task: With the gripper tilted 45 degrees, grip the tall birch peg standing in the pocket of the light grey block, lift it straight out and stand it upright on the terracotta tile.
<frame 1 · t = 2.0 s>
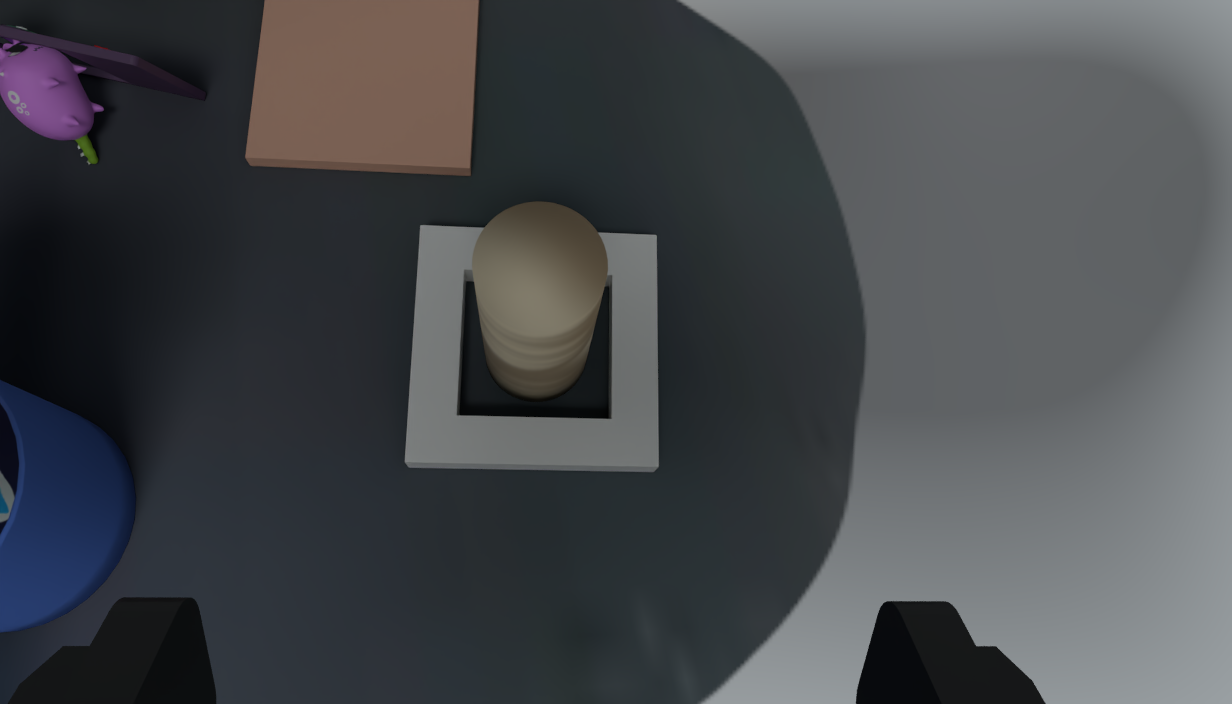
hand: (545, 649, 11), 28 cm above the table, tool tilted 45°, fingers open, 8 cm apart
water bottle: (20, 516, 37), on the table
purple toy figure: (97, 119, 43), on the table
pocket block: (536, 352, 41), on the table
birch peg: (538, 314, 36), in the pocket block
terracotta tile: (370, 75, 44), on the table
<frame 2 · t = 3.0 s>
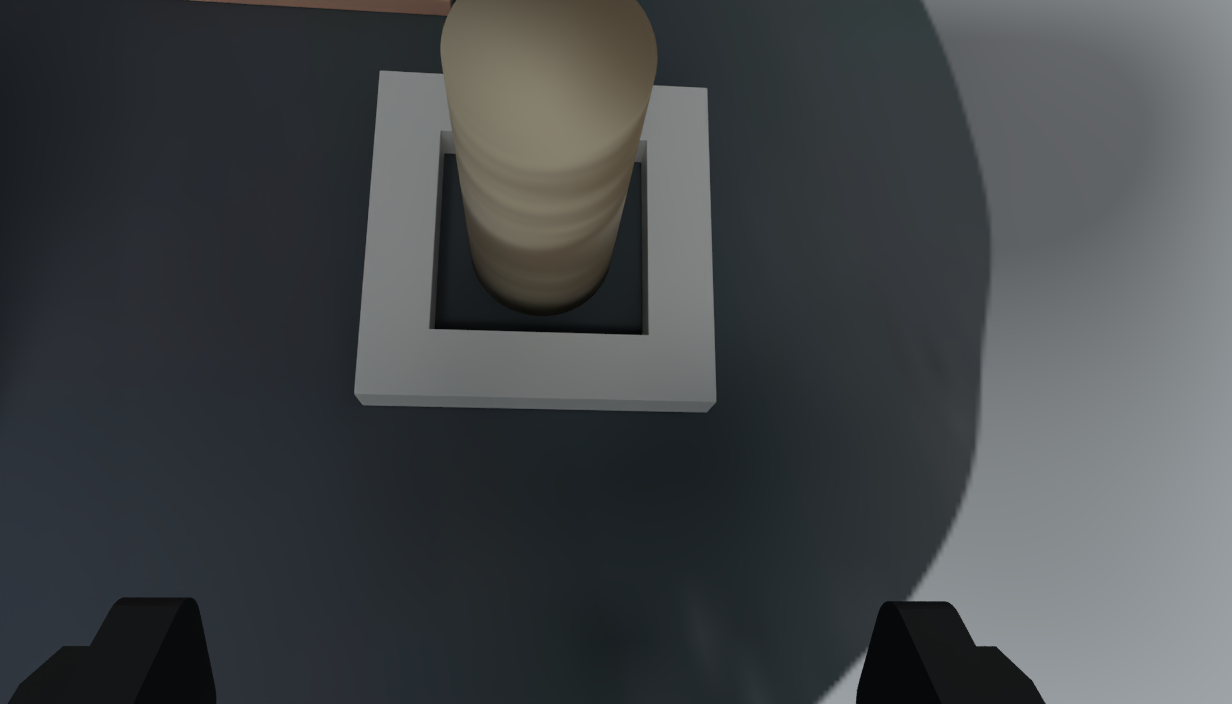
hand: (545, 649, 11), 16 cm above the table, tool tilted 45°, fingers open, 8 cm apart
pocket block: (541, 249, 30), on the table
birch peg: (544, 171, 24), in the pocket block
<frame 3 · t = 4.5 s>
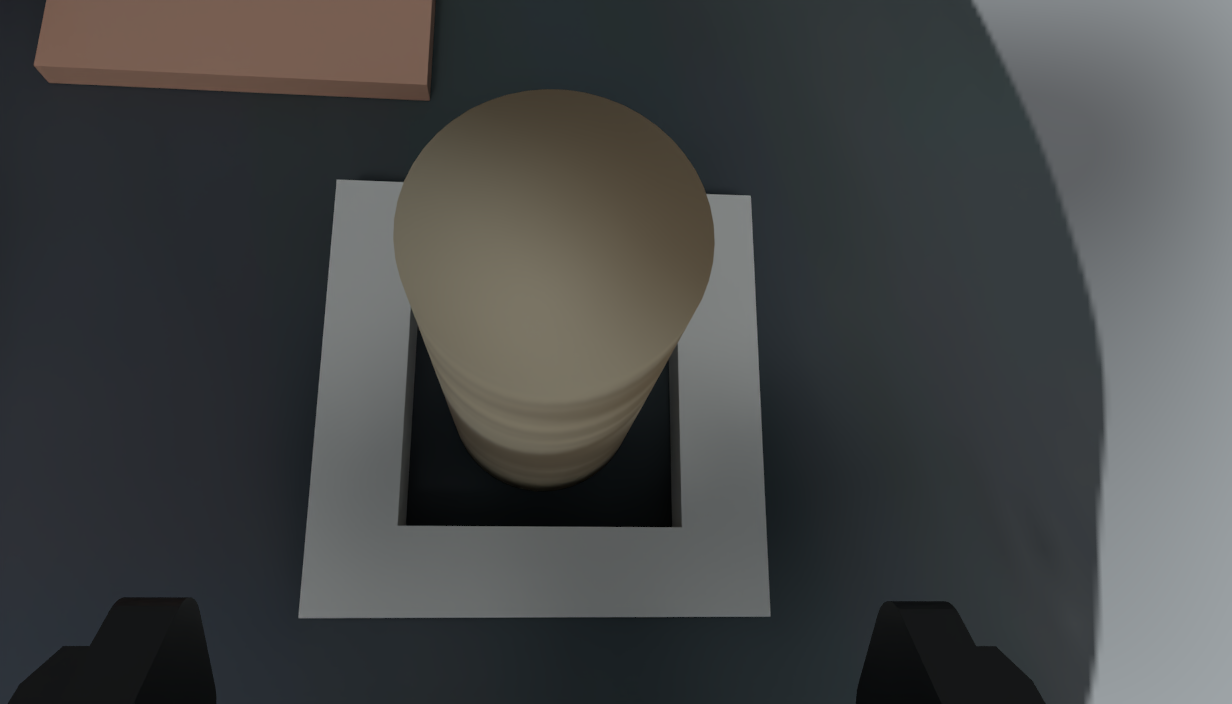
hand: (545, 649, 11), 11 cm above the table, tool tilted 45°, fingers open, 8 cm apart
pocket block: (543, 402, 23), on the table
birch peg: (547, 341, 18), in the pocket block
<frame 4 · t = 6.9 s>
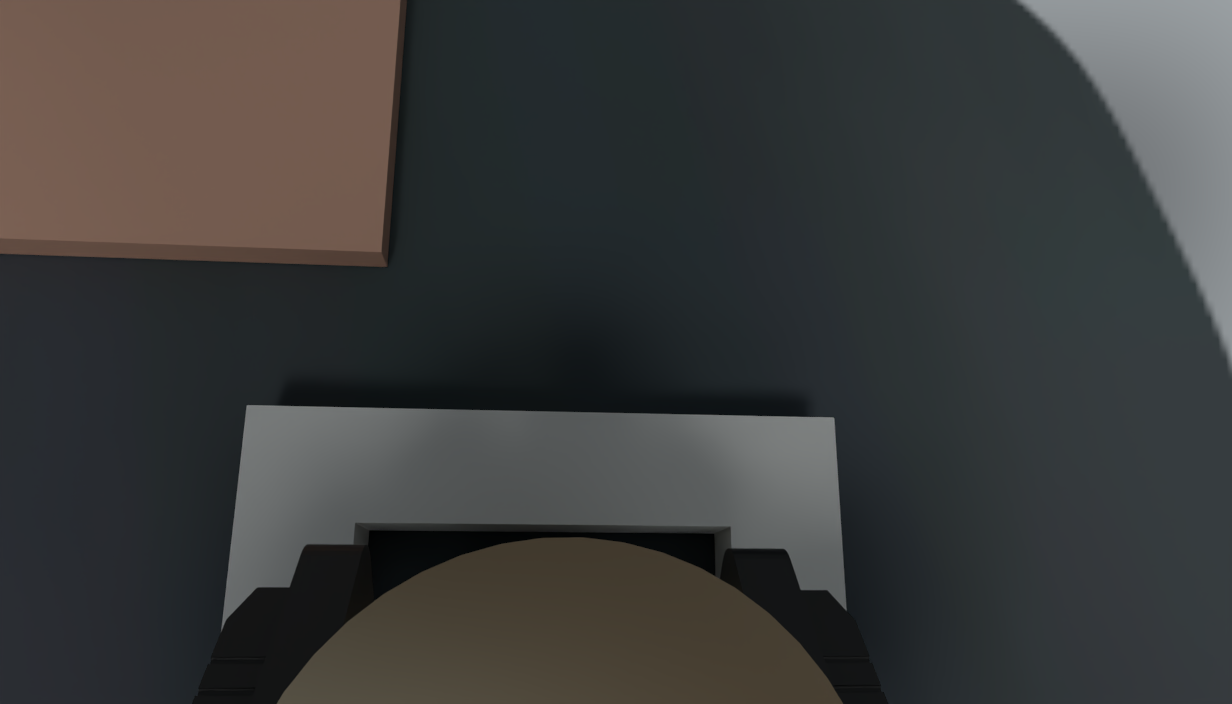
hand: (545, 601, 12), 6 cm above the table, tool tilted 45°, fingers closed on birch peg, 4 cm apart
terracotta tile: (162, 37, 20), on the table
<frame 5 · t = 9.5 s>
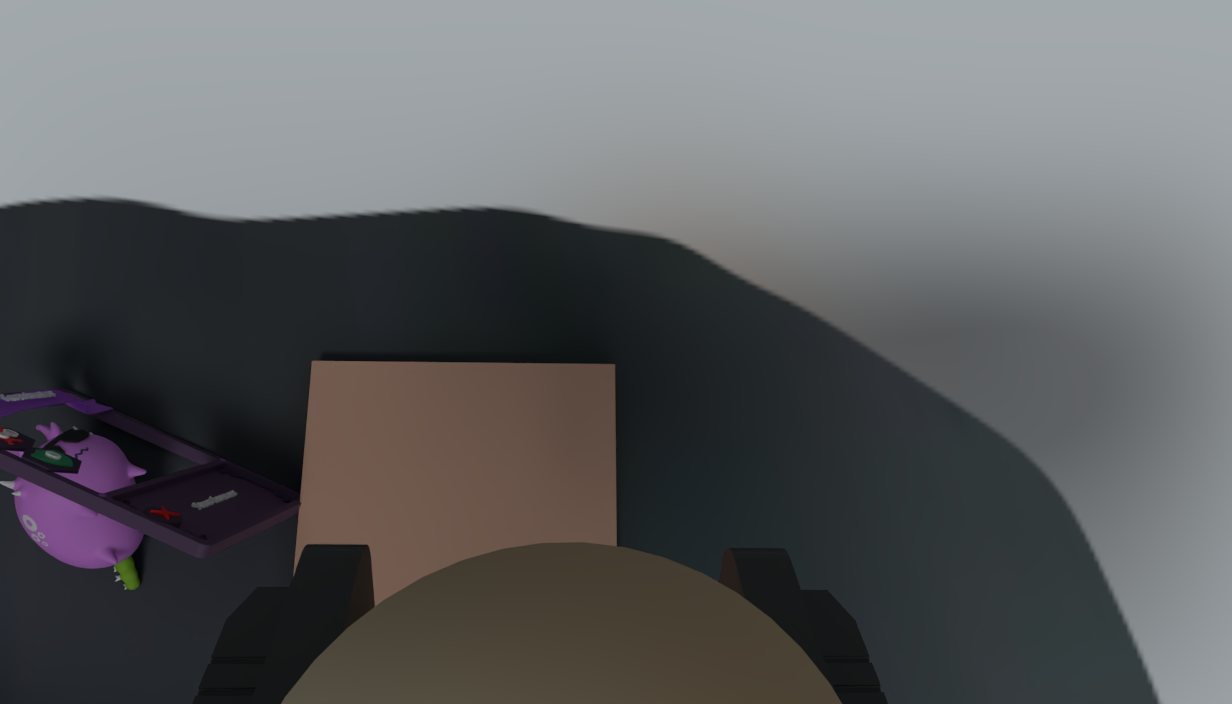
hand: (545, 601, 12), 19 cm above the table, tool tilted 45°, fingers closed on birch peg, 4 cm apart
purple toy figure: (153, 510, 30), on the table, touching terracotta tile
terracotta tile: (461, 516, 30), on the table
when the fingers open (8 cm above the table, at t = 12.5 s): birch peg drops 1 cm, resting on terracotta tile.
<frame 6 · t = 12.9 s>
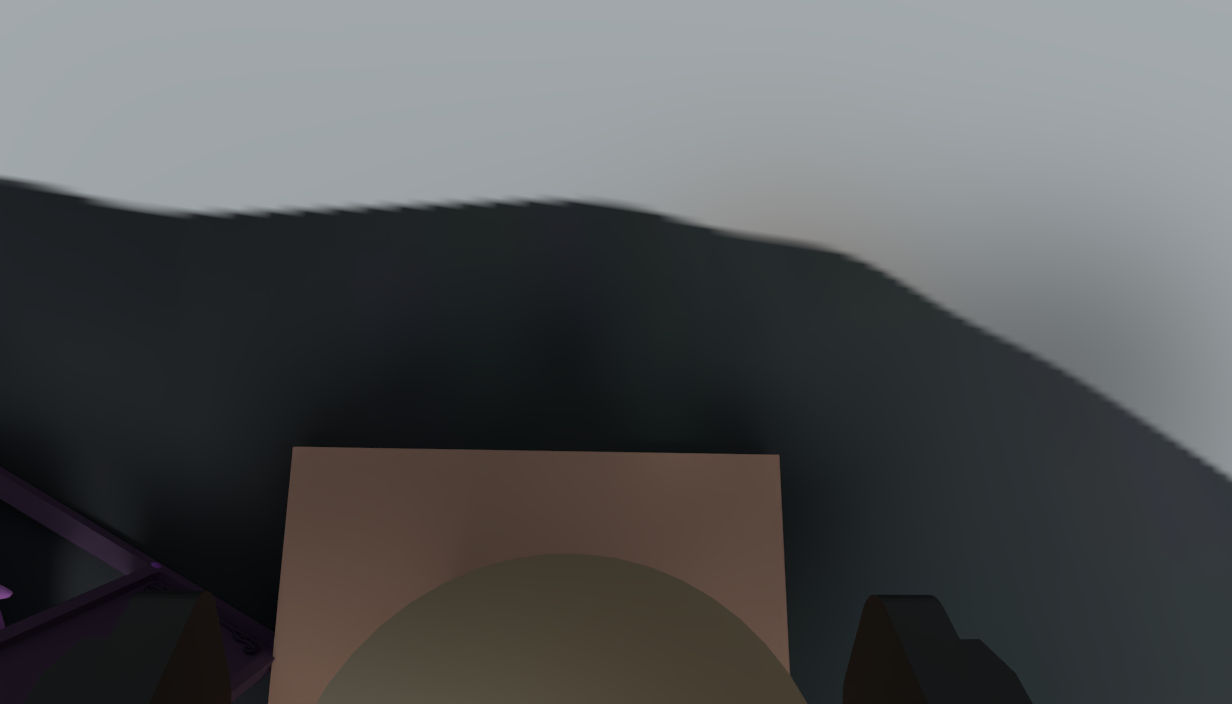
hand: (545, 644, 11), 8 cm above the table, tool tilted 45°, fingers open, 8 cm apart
purple toy figure: (33, 635, 18), on the table
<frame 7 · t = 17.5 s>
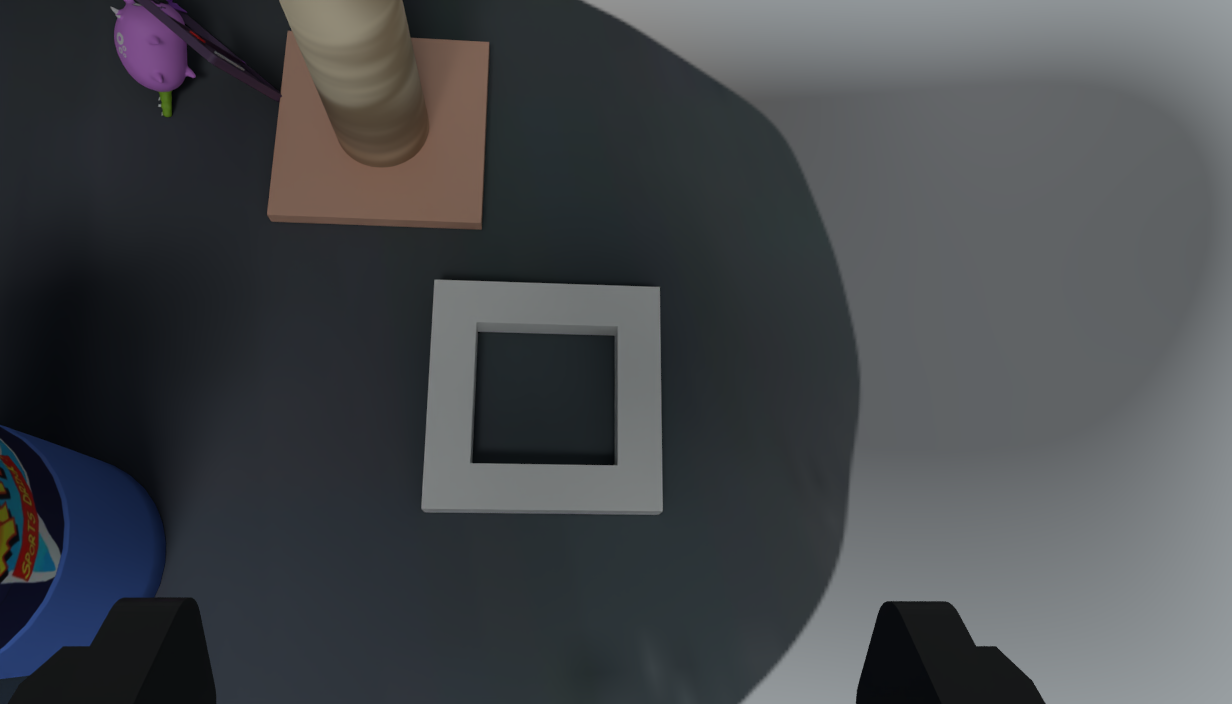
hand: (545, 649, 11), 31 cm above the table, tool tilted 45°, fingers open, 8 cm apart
water bottle: (57, 561, 39), on the table
purple toy figure: (192, 80, 46), on the table
pocket block: (545, 400, 43), on the table
birch peg: (362, 61, 40), on the terracotta tile, point 6 cm above the table
terracotta tile: (384, 133, 46), on the table
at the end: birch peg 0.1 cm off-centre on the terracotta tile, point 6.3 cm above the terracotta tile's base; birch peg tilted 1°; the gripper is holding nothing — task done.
